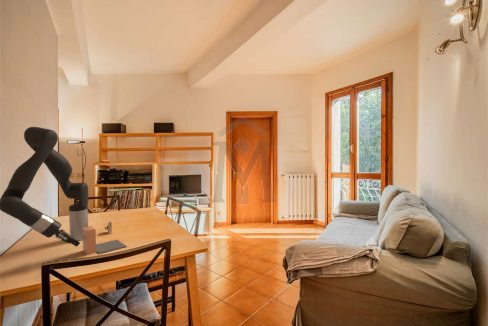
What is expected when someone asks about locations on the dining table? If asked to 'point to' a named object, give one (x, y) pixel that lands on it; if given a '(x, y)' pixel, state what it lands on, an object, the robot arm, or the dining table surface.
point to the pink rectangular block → (89, 240)
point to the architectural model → (109, 227)
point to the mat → (109, 246)
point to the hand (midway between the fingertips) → (78, 244)
